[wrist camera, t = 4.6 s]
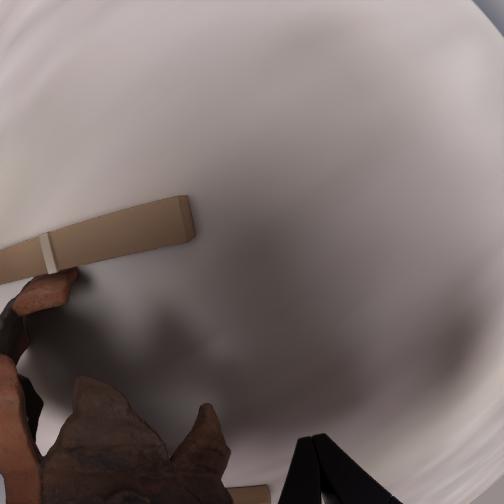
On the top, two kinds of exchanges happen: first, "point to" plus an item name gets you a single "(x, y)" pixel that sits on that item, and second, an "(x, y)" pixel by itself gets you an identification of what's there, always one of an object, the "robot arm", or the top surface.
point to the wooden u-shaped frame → (111, 246)
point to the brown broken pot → (95, 433)
